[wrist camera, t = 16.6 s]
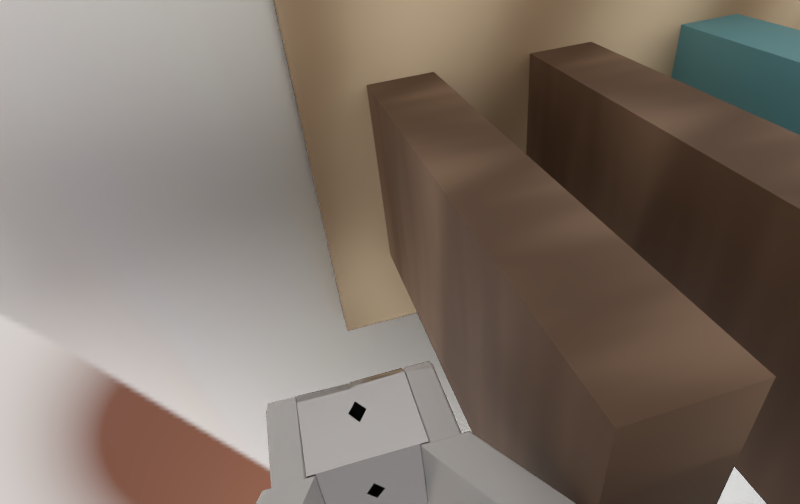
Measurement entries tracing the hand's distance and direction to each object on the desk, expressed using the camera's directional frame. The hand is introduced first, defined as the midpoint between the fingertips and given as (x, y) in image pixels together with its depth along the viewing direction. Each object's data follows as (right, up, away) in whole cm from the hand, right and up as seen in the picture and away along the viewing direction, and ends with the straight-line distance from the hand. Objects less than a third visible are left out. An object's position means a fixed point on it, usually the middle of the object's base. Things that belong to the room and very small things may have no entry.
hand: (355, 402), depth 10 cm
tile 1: (+1, +5, +7) cm, 9 cm away
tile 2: (+6, +7, +8) cm, 12 cm away
